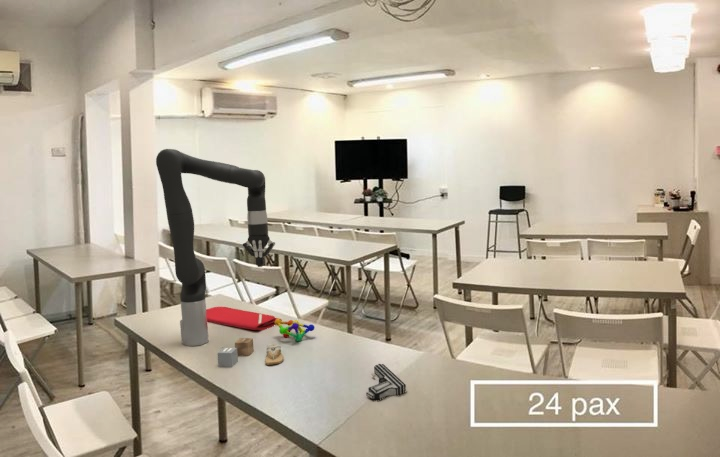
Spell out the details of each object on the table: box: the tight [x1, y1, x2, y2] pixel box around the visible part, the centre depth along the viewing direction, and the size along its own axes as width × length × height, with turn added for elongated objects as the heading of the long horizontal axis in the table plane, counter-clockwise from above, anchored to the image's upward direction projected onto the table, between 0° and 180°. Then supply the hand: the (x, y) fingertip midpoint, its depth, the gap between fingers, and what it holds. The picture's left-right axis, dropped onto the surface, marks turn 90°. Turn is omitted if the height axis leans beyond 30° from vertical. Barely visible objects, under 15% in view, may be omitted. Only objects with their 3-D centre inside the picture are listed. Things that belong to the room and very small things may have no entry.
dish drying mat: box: [206, 306, 283, 331], centre depth 229 cm, size 16×41×4 cm, turn 55°
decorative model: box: [275, 318, 315, 342], centre depth 202 cm, size 13×9×15 cm
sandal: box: [264, 344, 284, 366], centre depth 183 cm, size 7×16×5 cm, turn 16°
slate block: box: [217, 347, 239, 368], centre depth 179 cm, size 5×5×5 cm
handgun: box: [365, 363, 407, 401], centre depth 157 cm, size 3×19×12 cm
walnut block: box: [234, 337, 255, 357], centre depth 188 cm, size 5×5×5 cm
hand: (260, 266), depth 200 cm, fingers closed
